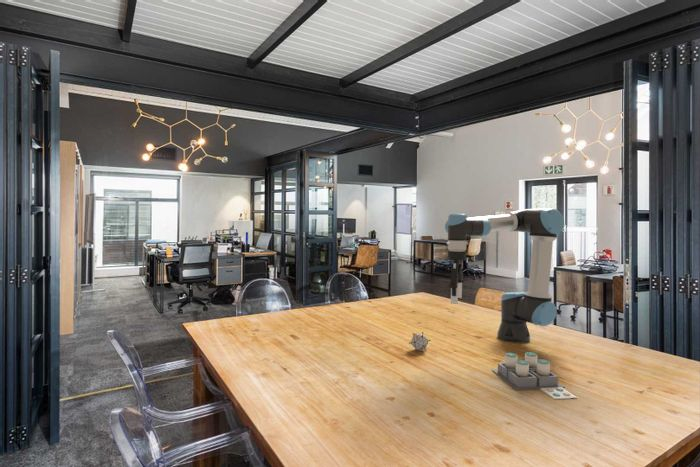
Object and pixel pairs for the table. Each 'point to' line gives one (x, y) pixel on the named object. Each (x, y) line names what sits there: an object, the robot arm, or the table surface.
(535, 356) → the button
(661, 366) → the table surface
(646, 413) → the table surface
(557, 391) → the card
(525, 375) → the button
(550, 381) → the board
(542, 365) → the button
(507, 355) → the button
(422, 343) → the game die
